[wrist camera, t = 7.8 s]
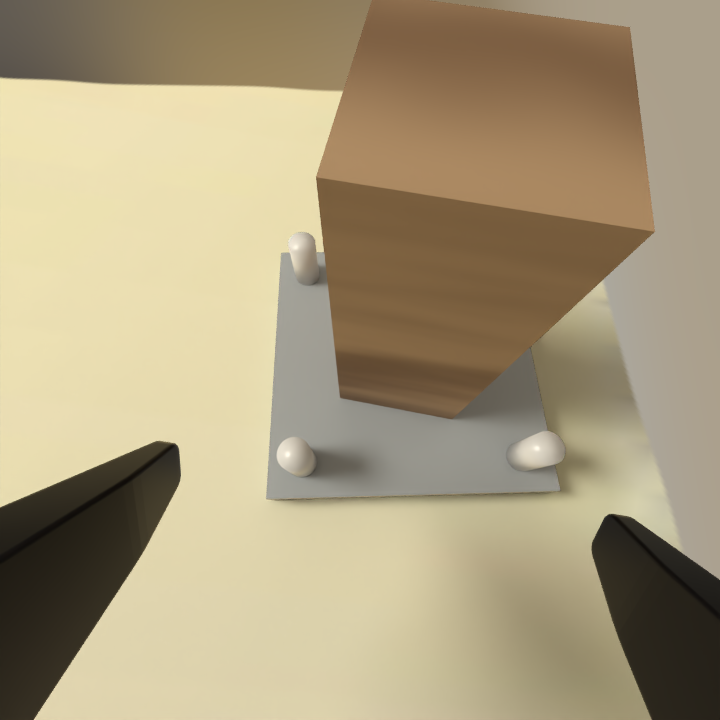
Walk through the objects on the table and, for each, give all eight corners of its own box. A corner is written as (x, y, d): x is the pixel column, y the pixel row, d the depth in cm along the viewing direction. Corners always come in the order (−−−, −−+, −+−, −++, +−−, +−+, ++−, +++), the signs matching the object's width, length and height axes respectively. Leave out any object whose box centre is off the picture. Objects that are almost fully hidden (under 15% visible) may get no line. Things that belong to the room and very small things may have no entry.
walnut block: (451, 419, 17) (655, 231, 5) (340, 398, 17) (315, 177, 6) (462, 319, 18) (630, 27, 7) (361, 301, 19) (374, -7, 8)
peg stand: (548, 491, 17) (596, 487, 13) (271, 499, 16) (250, 496, 13) (503, 262, 21) (530, 216, 18) (284, 264, 21) (271, 218, 17)
